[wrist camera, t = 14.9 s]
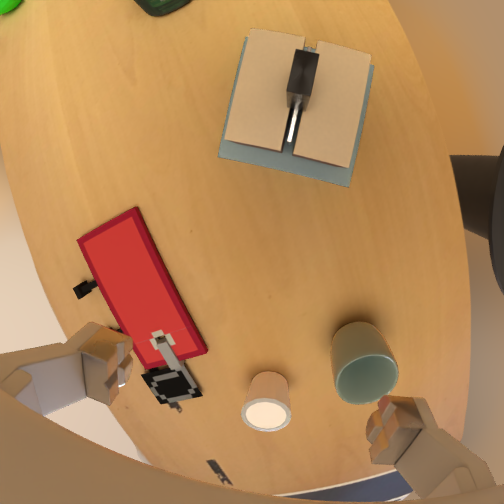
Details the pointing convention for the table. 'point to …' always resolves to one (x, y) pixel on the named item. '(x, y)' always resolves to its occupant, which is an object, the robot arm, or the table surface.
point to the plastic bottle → (8, 5)
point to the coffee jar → (160, 6)
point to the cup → (362, 364)
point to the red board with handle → (143, 302)
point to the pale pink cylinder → (267, 402)
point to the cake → (308, 122)
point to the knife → (300, 84)
